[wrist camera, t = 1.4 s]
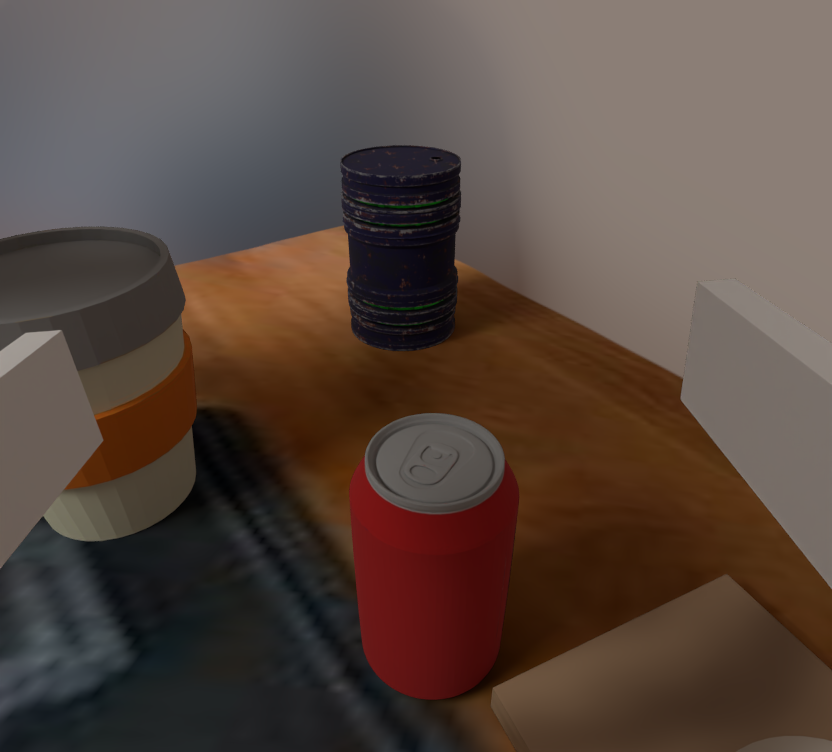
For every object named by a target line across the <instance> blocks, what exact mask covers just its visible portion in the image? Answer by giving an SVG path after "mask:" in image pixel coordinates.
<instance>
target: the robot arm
mask: <svg viewBox="0 0 832 752" xmlns="http://www.w3.org/2000/svg"><path fill="white" fill-rule="evenodd" d="M681 401H682V402H683V403H684V404H685V406H686V407H687V408H688V409H689V411H690V412H691V413H692V414H693V416H694V417H695V418H696V419H697V421H698V422H699V423H700V425H701V426H702V427H703V428H704V430H705V431H706V432H707V433H708V435H709V436H710V437H711V438H712V440H713V441H714V442H715V443H716V445H717V446H718V447H719V448H720V450H721V451H722V452H723V453H724V455H725V456H726V457H727V458H728V460H729V461H730V462H731V463H732V465H733V466H734V467H735V468H736V470H737V471H738V472H739V473H740V475H741V476H742V477H743V478H744V480H745V481H746V482H747V483H748V485H749V486H750V487H751V488H752V490H753V491H754V492H755V493H756V495H757V496H758V497H759V498H760V500H761V501H762V502H763V503H764V505H765V506H766V507H767V508H768V510H769V511H770V512H771V513H772V515H773V516H774V517H775V518H776V520H777V521H778V522H779V523H780V525H781V526H782V527H783V528H784V530H785V531H786V532H787V533H788V535H789V536H790V537H791V538H792V540H793V541H794V542H795V543H796V545H797V546H798V547H799V549H800V550H801V551H802V552H803V554H804V555H805V556H806V557H807V559H808V560H809V561H810V562H811V564H812V565H813V566H814V567H815V569H816V570H817V571H818V572H819V574H820V575H821V576H822V577H823V579H824V580H825V581H826V582H827V584H828V585H829V586H830V587H831V589H832V343H831V342H829V341H828V340H826V339H825V338H824V337H822V336H821V335H819V334H818V333H816V332H814V331H813V330H812V329H810V328H809V327H807V326H806V325H804V324H803V323H801V322H800V321H798V320H797V319H795V318H794V317H792V316H791V315H789V314H788V313H786V312H785V311H783V310H782V309H780V308H779V307H777V306H776V305H774V304H773V303H771V302H770V301H768V300H767V299H765V298H764V297H762V296H761V295H759V294H758V293H756V292H755V291H753V290H752V289H750V288H749V287H747V286H746V285H744V284H743V283H741V282H740V281H738V280H737V279H723V280H710V281H698V282H697V287H696V294H695V301H694V308H693V315H692V322H691V329H690V336H689V343H688V350H687V357H686V364H685V371H684V378H683V385H682V392H681ZM102 442H103V438H102V435H101V433H100V430H99V427H98V425H97V422H96V419H95V417H94V414H93V411H92V409H91V406H90V403H89V401H88V398H87V395H86V393H85V390H84V388H83V385H82V382H81V380H80V377H79V374H78V372H77V369H76V366H75V364H74V361H73V358H72V356H71V353H70V350H69V348H68V345H67V343H66V340H65V337H64V335H63V332H62V330H56V331H43V332H30V333H25V334H23V335H22V336H21V337H19V338H18V339H16V340H15V341H14V342H12V343H11V344H9V345H8V346H7V347H5V348H4V349H2V350H1V351H0V568H1V567H2V566H3V565H4V563H5V562H6V561H7V560H8V558H9V557H10V556H11V555H12V553H13V552H14V551H15V550H16V548H17V547H18V546H19V545H20V543H21V542H22V541H23V540H24V538H25V537H26V536H27V535H28V534H29V532H30V531H31V530H32V529H33V527H34V526H35V525H36V524H37V522H38V521H39V520H40V519H41V517H42V516H43V515H44V514H45V512H46V511H47V510H48V509H49V507H50V506H51V505H52V504H53V502H54V501H55V500H56V499H57V498H58V496H59V495H60V494H61V493H62V491H63V490H64V489H65V488H66V486H67V485H68V484H69V483H70V481H71V480H72V479H73V478H74V476H75V475H76V474H77V473H78V471H79V470H80V469H81V468H82V466H83V465H84V464H85V463H86V462H87V460H88V459H89V458H90V457H91V455H92V454H93V453H94V452H95V450H96V449H97V448H98V447H99V445H100V444H101V443H102Z"/></svg>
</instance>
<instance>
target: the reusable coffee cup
mask: <svg viewBox="0 0 832 752" xmlns="http://www.w3.org/2000/svg"><path fill="white" fill-rule="evenodd" d="M185 301H186V299H185V295H184V292H183V289H182V286H181V283H180V281H179V278H178V275H177V272H176V270H175V267H174V264H173V261H172V258H171V256H170V253H169V250H168V248H167V246H166V245H165V243H164V242H163V241H162V240H161V239H158V238H157V237H155V236H153V235H151V234H148V233H145V232H141V231H138V230H132V229H126V228H114V227H73V228H60V229H52V230H45V231H37V232H32V233H27V234H21V235H15V236H11V237H7V238H3V239H0V351H1V350H2V349H4V348H5V347H7V346H8V345H9V344H11V343H12V342H14V341H15V340H16V339H18V338H19V337H21V336H22V335H23V334H25V333H30V332H43V331H56V330H62V332H63V335H64V337H65V340H66V343H67V345H68V348H69V350H70V353H71V356H72V358H73V361H74V364H75V366H76V369H77V372H78V374H79V377H80V380H81V382H82V385H83V388H84V390H85V393H86V395H87V398H88V401H89V403H90V406H91V409H92V411H93V414H94V417H95V419H96V422H97V425H98V427H99V430H100V433H101V435H102V438H103V442H102V443H101V444H100V445H99V447H98V448H97V449H96V450H95V452H94V453H93V454H92V455H91V457H90V458H89V459H88V460H87V462H86V463H85V464H84V465H83V466H82V468H81V469H80V470H79V471H78V473H77V474H76V475H75V476H74V478H73V479H72V480H71V481H70V483H69V484H68V485H67V486H66V488H65V489H64V490H63V491H62V493H61V494H60V495H59V496H58V498H57V499H56V500H55V501H54V502H53V504H52V505H51V506H50V507H49V509H48V510H47V511H46V512H45V514H44V515H43V516H44V518H45V519H46V520H47V522H48V523H49V524H50V526H51V527H52V528H53V529H54V530H55V531H57V532H58V533H59V534H61V535H63V536H66V537H68V538H71V539H76V540H82V541H104V540H110V539H116V538H120V537H124V536H127V535H131V534H134V533H136V532H139V531H141V530H143V529H146V528H148V527H150V526H152V525H154V524H155V523H157V522H159V521H161V520H162V519H164V518H165V517H166V516H168V515H169V514H170V513H172V512H173V511H174V510H175V509H176V508H177V507H178V506H179V505H180V504H181V503H182V502H183V501H184V500H185V499H186V497H187V496H188V494H189V493H190V491H191V490H192V487H193V485H194V482H195V477H196V466H195V455H194V445H193V434H192V424H193V422H194V420H195V418H196V411H197V400H196V389H195V377H194V366H193V355H192V345H191V341H190V337H189V336H188V335H187V333H186V332H185V331H184V330H183V328H182V318H181V313H182V311H183V310H184V305H185Z"/></svg>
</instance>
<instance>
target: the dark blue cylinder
mask: <svg viewBox="0 0 832 752" xmlns="http://www.w3.org/2000/svg"><path fill="white" fill-rule="evenodd" d="M340 164H341V172H342V174H343V177H342V190H343V191H342V193H341V197H342V208H343V215H344V217H343V223H344V229H345V231H346V232H347V233H348V241H349V257H350V267H349V269H348V272H347V285H348V300H349V306H350V311H351V315H352V319H351V326H352V331H353V333H354V335H355V336H356V337H357V338H358V339H359V340H361V341H362V342H364V343H366V344H368V345H370V346H373V347H376V348H380V349H385V350H392V351H412V350H420V349H424V348H429V347H432V346H435V345H437V344H439V343H441V342H443V341H444V340H446V339H447V338H448V337H449V336H450V335H451V334H452V333H453V331H454V327H455V318H454V314H455V306H456V303H457V283H458V276H457V269H456V267H455V266H454V260H455V233H456V232H457V230H458V228H459V222H460V215H459V210H460V207H461V191H460V177H459V173H460V171H461V158H460V157H459V156H458V155H456V154H455V153H452V152H450V151H447V150H443V149H438V148H433V147H425V146H411V145H396V146H395V145H393V146H379V147H372V148H365V149H361V150H357V151H353V152H351V153H348V154H346V155H345V156H343V157H342V159H341V160H340Z"/></svg>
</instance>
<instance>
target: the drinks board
mask: <svg viewBox="0 0 832 752" xmlns="http://www.w3.org/2000/svg"><path fill="white" fill-rule="evenodd" d="M491 708H492V709H493V711H494V713H495V715H496V716H497V718H498V720H499V722H500V723H501V725H502V727H503V729H504V731H505V732H506V734H507V736H508V738H509V739H510V741H511V743H512V745H513V746H514V748H515V750H516V752H832V670H831V669H830V668H829V667H828V666H826V665H825V664H824V663H823V662H822V661H821V660H820V659H819V658H818V657H817V656H816V655H814V654H813V653H812V652H811V651H810V650H809V649H808V648H807V647H806V646H805V645H804V644H803V643H801V642H800V641H799V640H798V639H797V638H796V637H795V636H794V635H793V634H792V633H791V632H789V631H788V630H787V629H786V628H785V627H784V626H783V625H782V624H781V623H780V622H779V621H777V620H776V619H775V618H774V617H773V616H772V615H771V614H770V613H769V612H768V611H767V610H765V609H764V608H763V607H762V606H761V605H760V604H759V603H758V602H757V601H756V600H755V599H754V598H752V597H751V596H750V595H749V594H748V593H747V592H746V591H745V590H744V589H743V588H742V587H740V586H739V585H738V584H737V583H736V582H735V581H734V580H733V579H732V578H731V577H730V576H728V575H727V574H725V575H723V576H721V577H719V578H717V579H715V580H713V581H711V582H709V583H707V584H705V585H703V586H701V587H699V588H697V589H695V590H693V591H691V592H689V593H686V594H684V595H682V596H680V597H678V598H676V599H674V600H672V601H670V602H668V603H666V604H664V605H662V606H660V607H658V608H656V609H654V610H652V611H649V612H647V613H645V614H643V615H641V616H639V617H637V618H635V619H633V620H631V621H629V622H627V623H625V624H623V625H621V626H619V627H617V628H615V629H613V630H610V631H608V632H606V633H604V634H602V635H600V636H598V637H596V638H594V639H592V640H590V641H588V642H586V643H584V644H582V645H580V646H578V647H576V648H574V649H571V650H569V651H567V652H565V653H563V654H561V655H559V656H557V657H555V658H553V659H551V660H549V661H547V662H545V663H543V664H541V665H539V666H537V667H534V668H532V669H530V670H528V671H526V672H524V673H522V674H520V675H518V676H516V677H514V678H512V679H510V680H508V681H506V682H504V683H502V684H500V685H498V686H495V687H493V691H492V699H491Z"/></svg>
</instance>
